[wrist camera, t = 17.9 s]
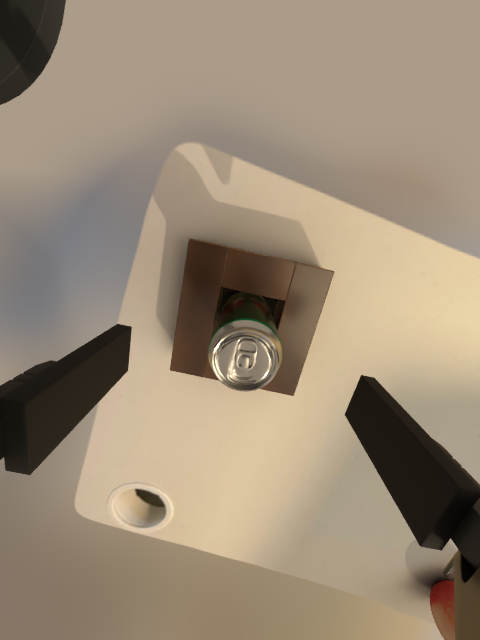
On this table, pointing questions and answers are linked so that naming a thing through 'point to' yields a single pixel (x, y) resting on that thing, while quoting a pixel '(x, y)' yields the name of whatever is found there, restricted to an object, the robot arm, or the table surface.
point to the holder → (257, 278)
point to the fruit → (444, 608)
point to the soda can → (245, 344)
